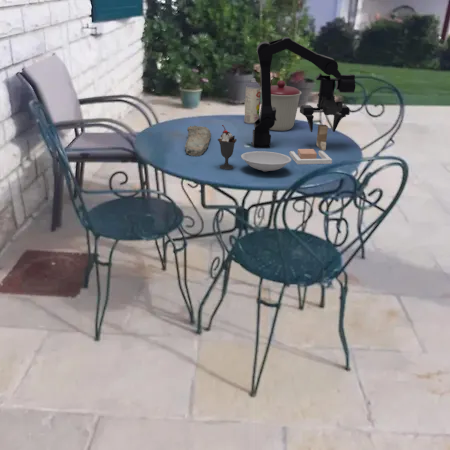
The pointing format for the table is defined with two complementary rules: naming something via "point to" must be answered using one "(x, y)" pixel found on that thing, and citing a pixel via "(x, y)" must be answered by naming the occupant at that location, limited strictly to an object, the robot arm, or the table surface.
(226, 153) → the sundae
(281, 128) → the canister
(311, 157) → the tile
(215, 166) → the table surface
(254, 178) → the table surface
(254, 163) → the dish
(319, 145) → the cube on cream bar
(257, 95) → the aerosol can
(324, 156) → the corral
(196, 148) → the elongated rock
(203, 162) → the table surface
